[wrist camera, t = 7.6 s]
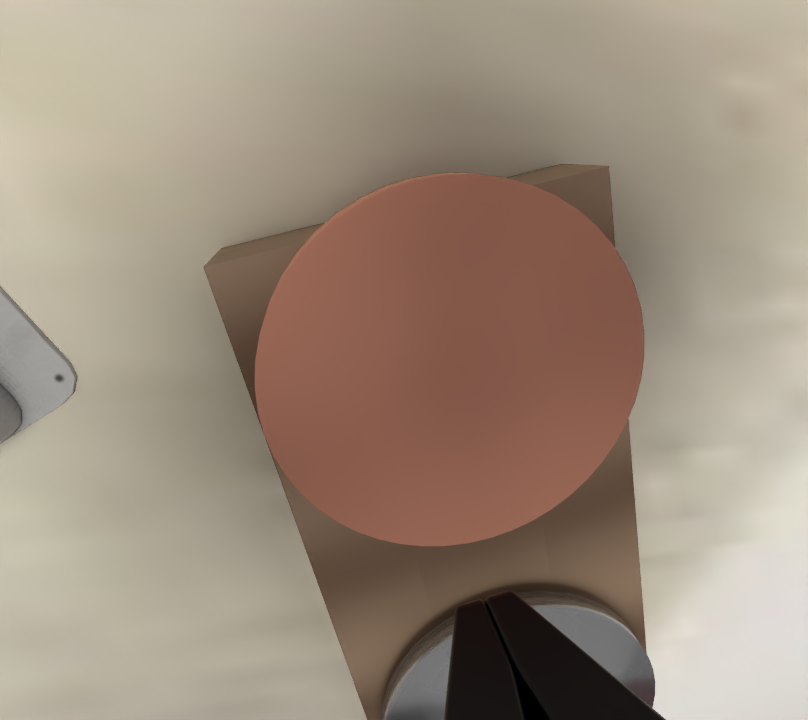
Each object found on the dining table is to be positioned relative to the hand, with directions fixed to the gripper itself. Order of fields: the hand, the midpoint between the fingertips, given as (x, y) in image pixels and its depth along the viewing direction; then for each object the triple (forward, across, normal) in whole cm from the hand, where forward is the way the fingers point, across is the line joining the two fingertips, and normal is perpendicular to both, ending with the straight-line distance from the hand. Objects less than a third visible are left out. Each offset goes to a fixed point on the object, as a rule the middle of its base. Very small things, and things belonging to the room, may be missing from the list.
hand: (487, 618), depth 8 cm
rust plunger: (+11, -1, -1) cm, 11 cm away
